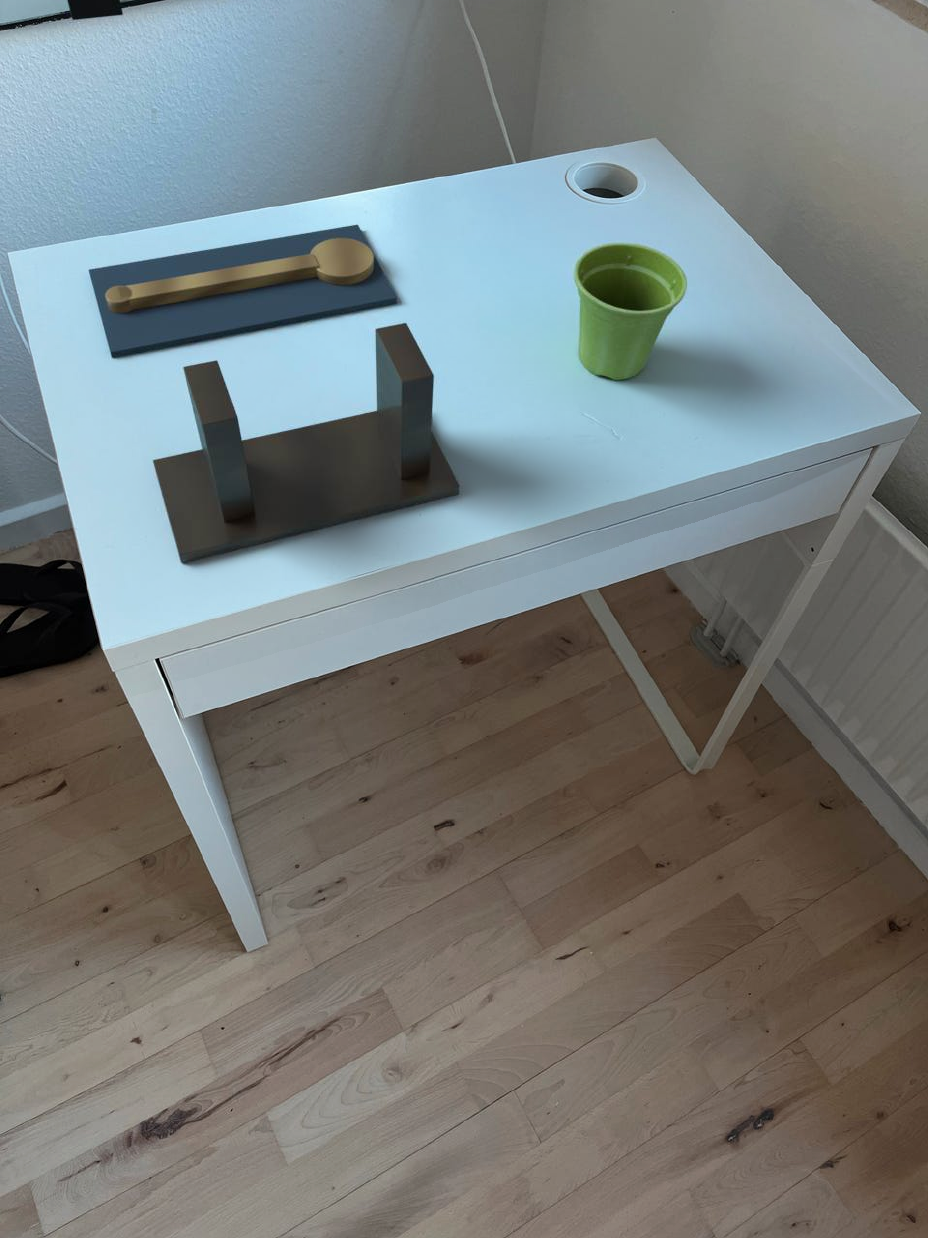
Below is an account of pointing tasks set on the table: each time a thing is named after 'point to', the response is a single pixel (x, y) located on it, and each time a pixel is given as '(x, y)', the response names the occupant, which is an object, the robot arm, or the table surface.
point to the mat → (231, 294)
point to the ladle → (252, 276)
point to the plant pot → (624, 305)
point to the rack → (305, 461)
